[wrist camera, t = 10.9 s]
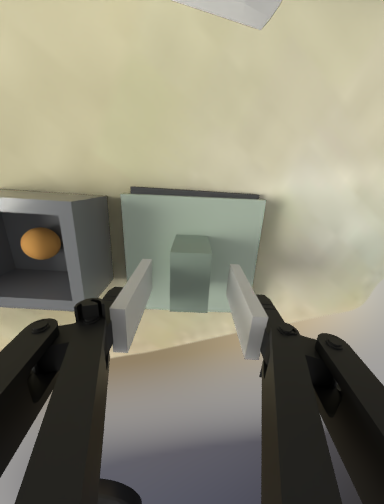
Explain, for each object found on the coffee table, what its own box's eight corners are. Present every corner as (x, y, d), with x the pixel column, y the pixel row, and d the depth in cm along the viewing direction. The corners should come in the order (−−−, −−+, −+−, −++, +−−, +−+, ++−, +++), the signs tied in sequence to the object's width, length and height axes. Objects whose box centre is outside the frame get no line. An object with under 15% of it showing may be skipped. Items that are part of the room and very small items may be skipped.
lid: (245, 307, 23) (262, 349, 17) (131, 303, 23) (110, 343, 17) (262, 199, 19) (292, 206, 13) (124, 193, 19) (93, 198, 13)
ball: (69, 254, 20) (49, 265, 18) (40, 252, 20) (15, 263, 18) (65, 225, 19) (43, 232, 17) (34, 223, 19) (7, 230, 17)
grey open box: (113, 278, 22) (86, 311, 17) (14, 272, 22) (-47, 304, 16) (106, 195, 19) (70, 201, 14) (-8, 188, 19) (-92, 191, 13)
